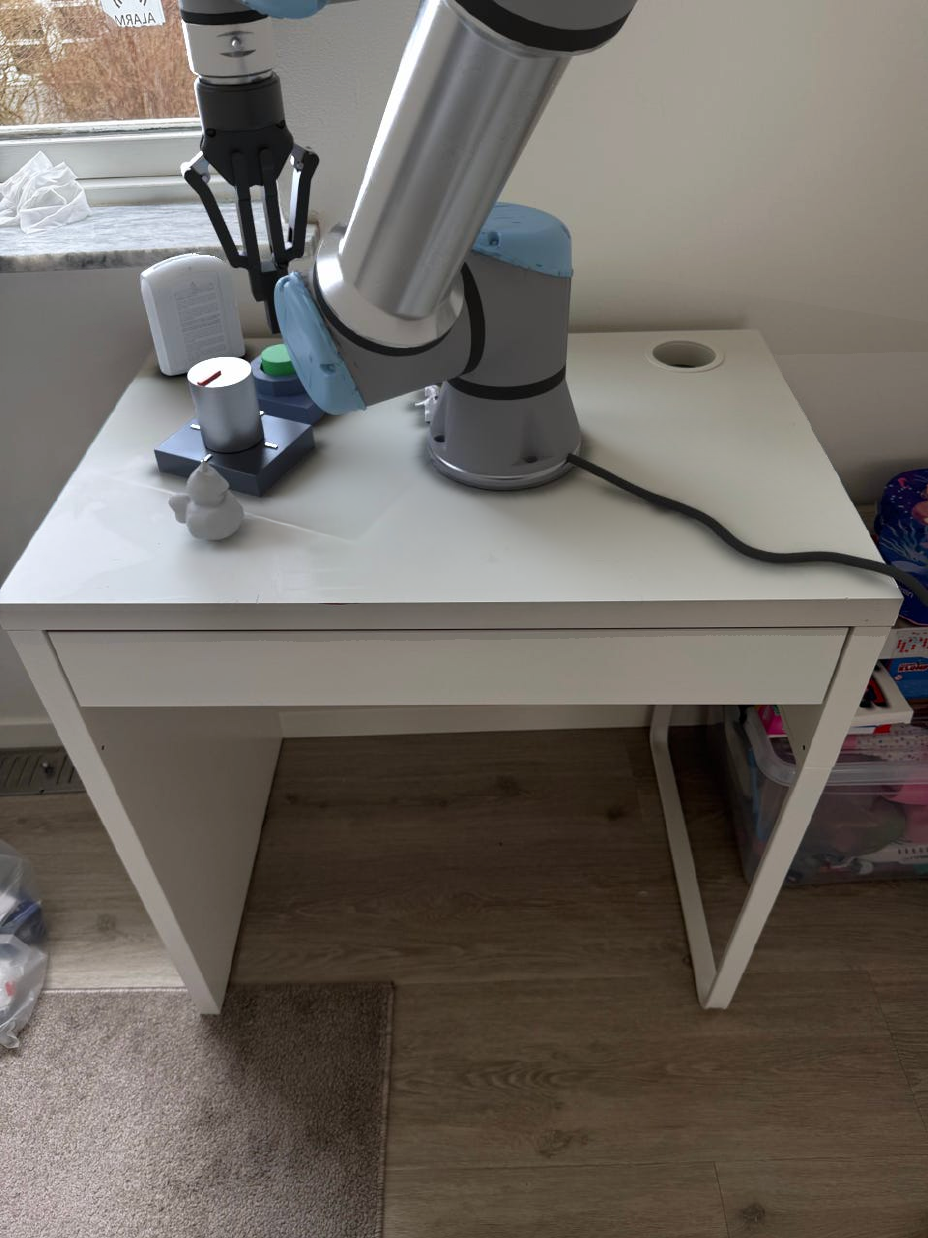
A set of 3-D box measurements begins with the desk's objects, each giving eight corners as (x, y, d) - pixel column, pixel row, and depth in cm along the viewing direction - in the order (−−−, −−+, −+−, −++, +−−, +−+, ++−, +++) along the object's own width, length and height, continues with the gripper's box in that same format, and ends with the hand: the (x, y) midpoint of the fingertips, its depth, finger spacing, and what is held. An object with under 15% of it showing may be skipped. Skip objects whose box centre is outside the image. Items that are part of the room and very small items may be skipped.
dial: (228, 415, 97) (214, 349, 92) (276, 429, 94) (264, 361, 89) (190, 444, 93) (173, 376, 88) (239, 458, 90) (224, 389, 86)
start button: (312, 362, 103) (310, 347, 101) (290, 380, 100) (287, 365, 98) (278, 355, 104) (275, 340, 103) (255, 373, 101) (252, 358, 100)
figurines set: (441, 422, 100) (440, 397, 98) (415, 423, 99) (413, 398, 98) (440, 368, 108) (439, 345, 107) (415, 369, 108) (414, 346, 106)
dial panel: (315, 445, 97) (312, 423, 95) (259, 498, 90) (254, 475, 88) (219, 422, 101) (214, 400, 99) (158, 471, 94) (151, 448, 92)
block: (352, 388, 105) (348, 355, 103) (309, 427, 99) (304, 393, 97) (269, 371, 109) (264, 338, 106) (223, 407, 103) (216, 373, 100)
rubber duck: (238, 552, 84) (220, 476, 78) (166, 548, 84) (144, 472, 79) (255, 516, 88) (239, 441, 82) (187, 512, 88) (167, 438, 83)
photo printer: (237, 343, 114) (217, 240, 106) (252, 356, 112) (232, 251, 104) (155, 367, 110) (128, 261, 102) (168, 381, 108) (141, 274, 99)
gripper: (165, 91, 79) (220, 354, 95) (318, 74, 82) (346, 331, 98) (155, 71, 84) (209, 323, 100) (299, 56, 87) (328, 303, 103)
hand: (277, 327), depth 99 cm, fingers closed
